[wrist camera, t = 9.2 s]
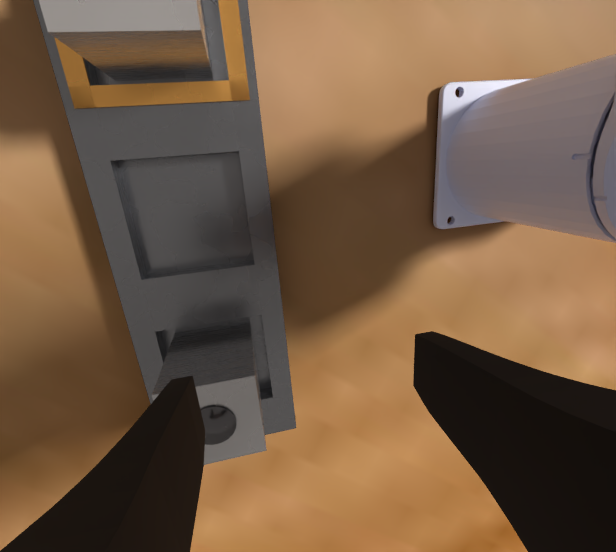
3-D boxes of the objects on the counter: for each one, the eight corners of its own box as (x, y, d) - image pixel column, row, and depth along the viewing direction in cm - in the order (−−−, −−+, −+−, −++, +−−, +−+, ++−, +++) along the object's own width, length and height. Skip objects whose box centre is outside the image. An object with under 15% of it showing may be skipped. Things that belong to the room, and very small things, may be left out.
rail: (228, -138, 14) (226, -184, 12) (291, 408, 23) (296, 429, 21) (9, -154, 12) (-29, -208, 10) (171, 434, 21) (165, 458, 20)
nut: (249, 320, 19) (254, 377, 14) (258, 380, 21) (266, 451, 15) (175, 332, 18) (151, 396, 13) (189, 393, 20) (173, 473, 15)
